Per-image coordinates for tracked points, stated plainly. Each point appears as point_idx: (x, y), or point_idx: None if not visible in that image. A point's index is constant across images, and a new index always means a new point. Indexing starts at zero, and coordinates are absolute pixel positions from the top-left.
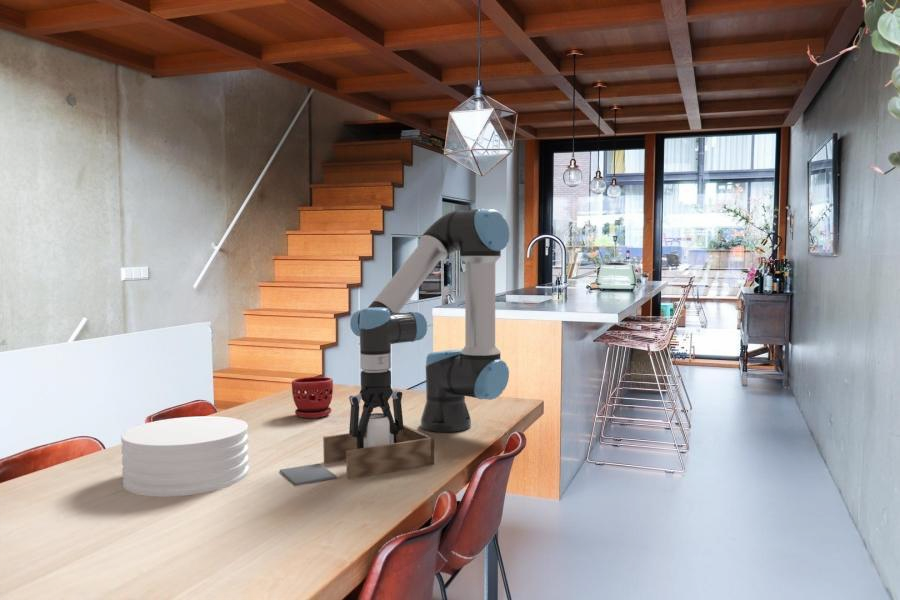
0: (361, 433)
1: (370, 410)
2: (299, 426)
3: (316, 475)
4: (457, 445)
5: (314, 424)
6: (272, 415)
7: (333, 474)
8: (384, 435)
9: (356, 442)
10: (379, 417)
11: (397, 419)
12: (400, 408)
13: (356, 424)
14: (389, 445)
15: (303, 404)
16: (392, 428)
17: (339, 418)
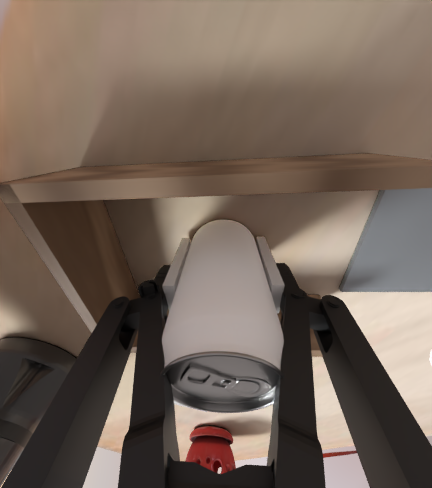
0: (304, 304)
1: (299, 445)
2: (245, 416)
3: (423, 214)
4: (14, 276)
5: (225, 415)
6: (251, 440)
7: (384, 200)
8: (210, 269)
9: None
10: (212, 370)
11: (115, 344)
12: (53, 413)
13: (354, 348)
14: (226, 173)
15: (228, 454)
16: (157, 306)
17: (187, 418)
